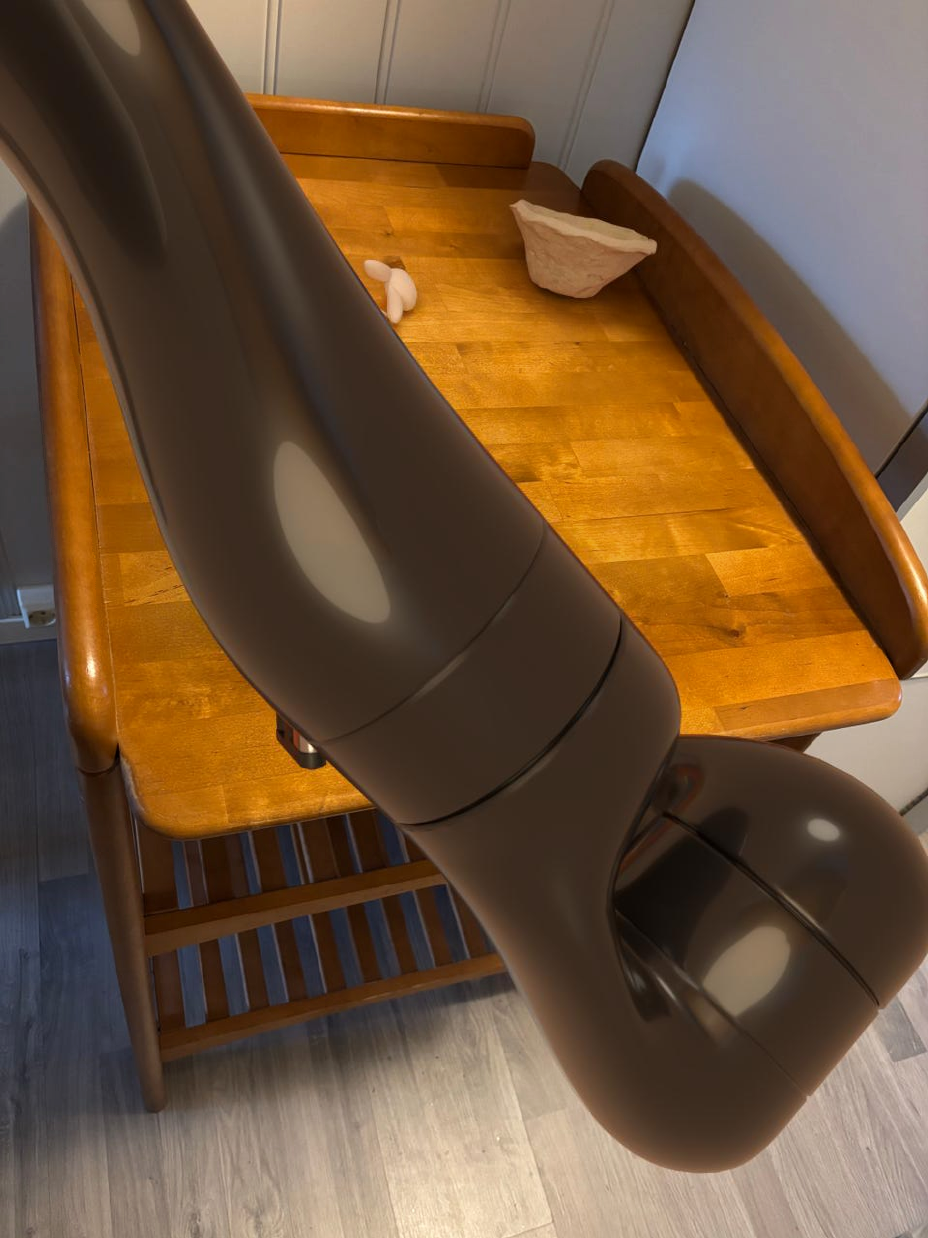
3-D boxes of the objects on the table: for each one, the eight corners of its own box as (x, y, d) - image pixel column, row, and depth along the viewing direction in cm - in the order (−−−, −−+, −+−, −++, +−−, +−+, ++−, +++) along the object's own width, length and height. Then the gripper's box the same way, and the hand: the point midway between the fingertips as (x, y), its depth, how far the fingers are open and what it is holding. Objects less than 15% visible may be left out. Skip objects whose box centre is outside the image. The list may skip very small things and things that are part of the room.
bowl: (633, 268, 108) (668, 182, 100) (627, 344, 99) (665, 256, 91) (501, 229, 106) (526, 139, 99) (483, 302, 98) (509, 210, 90)
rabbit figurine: (437, 311, 95) (409, 313, 88) (404, 331, 97) (374, 335, 90) (408, 253, 94) (377, 251, 87) (375, 274, 96) (342, 274, 89)
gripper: (647, 657, 42) (504, 605, 57) (316, 690, 37) (256, 624, 53) (645, 825, 43) (506, 731, 58) (325, 877, 39) (263, 760, 54)
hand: (388, 680), depth 55 cm, fingers open, 8 cm apart
